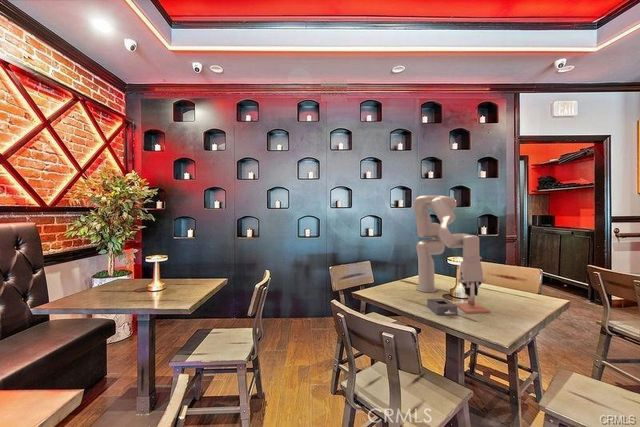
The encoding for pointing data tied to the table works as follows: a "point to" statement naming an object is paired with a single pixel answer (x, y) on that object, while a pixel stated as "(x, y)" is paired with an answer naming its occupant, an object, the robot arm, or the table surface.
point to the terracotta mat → (472, 308)
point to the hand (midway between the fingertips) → (471, 294)
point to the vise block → (442, 306)
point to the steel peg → (471, 294)
